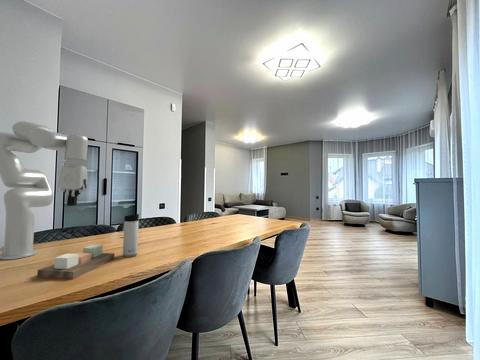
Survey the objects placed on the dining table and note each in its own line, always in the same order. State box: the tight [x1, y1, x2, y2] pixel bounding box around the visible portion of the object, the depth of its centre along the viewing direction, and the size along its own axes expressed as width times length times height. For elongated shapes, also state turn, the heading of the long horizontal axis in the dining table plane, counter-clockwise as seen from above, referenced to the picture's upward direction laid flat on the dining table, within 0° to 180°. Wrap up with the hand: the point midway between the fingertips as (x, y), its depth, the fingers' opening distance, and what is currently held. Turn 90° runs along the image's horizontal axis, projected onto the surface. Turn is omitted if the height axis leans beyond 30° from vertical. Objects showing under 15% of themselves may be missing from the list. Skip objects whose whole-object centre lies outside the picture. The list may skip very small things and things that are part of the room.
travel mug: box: [122, 213, 140, 258], centre depth 104 cm, size 6×7×20 cm
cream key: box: [53, 253, 79, 269], centre depth 82 cm, size 5×5×4 cm
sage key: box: [82, 244, 103, 258], centre depth 95 cm, size 5×5×4 cm
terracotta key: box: [77, 252, 91, 264], centre depth 88 cm, size 5×5×4 cm
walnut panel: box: [36, 252, 115, 280], centre depth 88 cm, size 14×22×2 cm, turn 175°
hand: (71, 205), depth 93 cm, fingers closed
